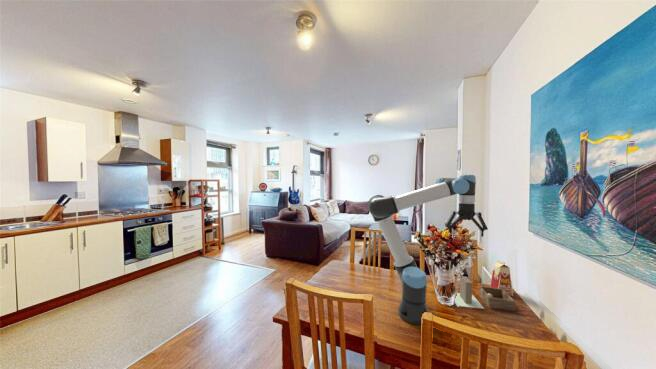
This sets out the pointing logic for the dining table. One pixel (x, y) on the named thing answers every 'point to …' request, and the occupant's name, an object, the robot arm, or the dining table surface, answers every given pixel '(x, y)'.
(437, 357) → the dining table surface
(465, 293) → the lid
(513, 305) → the walnut box
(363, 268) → the dining table surface
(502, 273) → the milk carton
